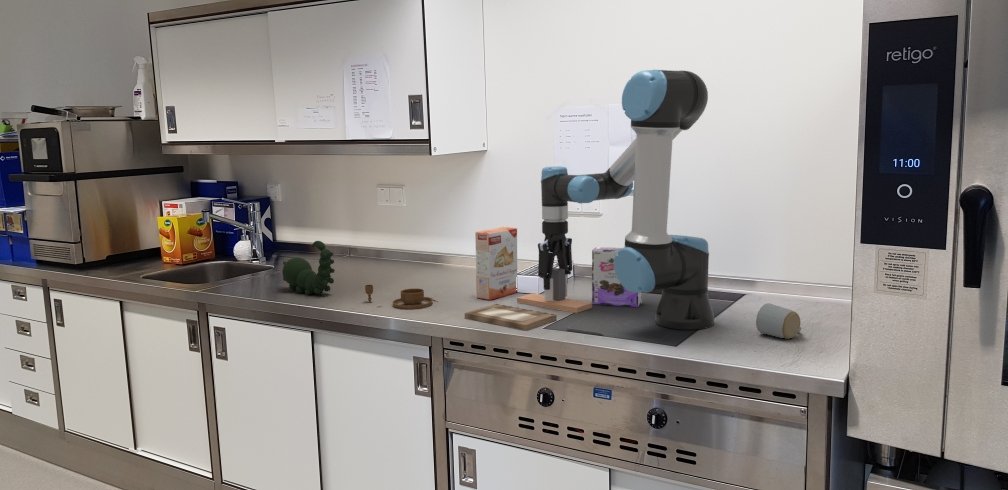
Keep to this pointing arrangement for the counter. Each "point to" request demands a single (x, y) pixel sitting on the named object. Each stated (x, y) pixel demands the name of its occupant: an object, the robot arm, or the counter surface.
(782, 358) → the counter surface
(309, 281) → the toy figurine
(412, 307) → the place setting
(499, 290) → the cracker box
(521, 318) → the board
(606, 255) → the candy box
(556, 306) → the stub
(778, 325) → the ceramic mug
